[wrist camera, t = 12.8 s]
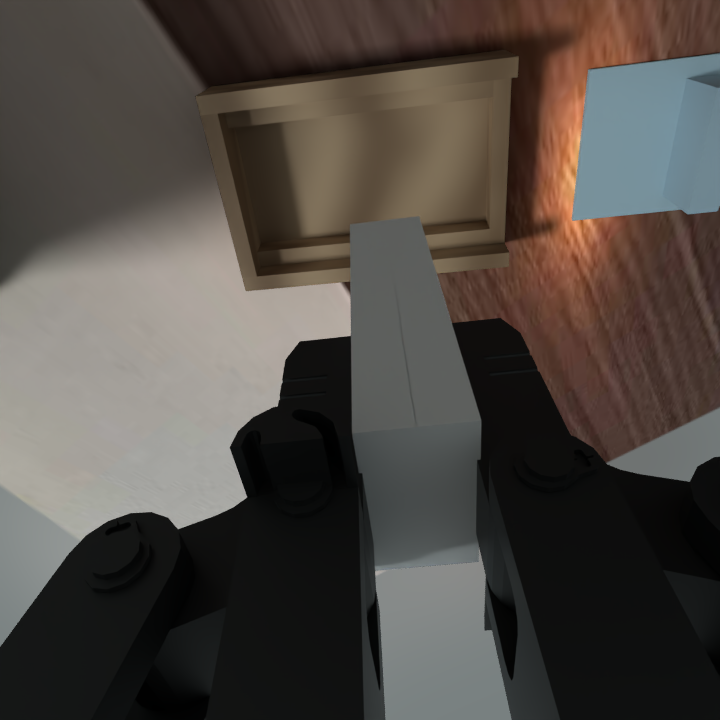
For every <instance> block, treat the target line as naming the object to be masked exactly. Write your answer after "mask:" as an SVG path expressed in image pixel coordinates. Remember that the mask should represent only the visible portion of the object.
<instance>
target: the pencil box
mask: <svg viewBox="0 0 720 720" xmlns="http://www.w3.org/2000/svg"><path fill="white" fill-rule="evenodd" d="M518 62H519V56H517V55H515V54H513V53H510V52H508V51H506V50H498V51H490V52H482V53H474V54H466V55H458V56H450V57H442V58H434V59H426V60H418V61H410V62H402V63H394V64H386V65H378V66H370V67H362V68H354V69H346V70H338V71H330V72H322V73H314V74H305V75H297V76H289V77H281V78H273V79H265V80H257V81H249V82H241V83H233V84H225V85H217V86H211V87H210V88H208V89H206V90H205V91H203V92H202V93H200V94H198V95H197V96H195V97H196V101H197V105H198V109H199V113H200V117H201V120H202V124H203V128H204V132H205V136H206V140H207V144H208V147H209V151H210V155H211V159H212V163H213V167H214V171H215V174H216V178H217V182H218V186H219V190H220V194H221V198H222V201H223V205H224V209H225V213H226V217H227V221H228V224H229V228H230V232H231V236H232V240H233V244H234V248H235V251H236V255H237V259H238V263H239V267H240V271H241V275H242V278H243V282H244V286H245V290H246V291H252V290H263V289H274V288H285V287H295V286H306V285H317V284H328V283H338V282H349V281H350V224H357V223H366V222H374V221H382V220H391V219H399V218H408V217H416V216H419V217H420V221H421V224H422V227H423V230H424V234H425V237H426V240H427V244H428V247H429V250H430V253H431V257H432V260H433V263H434V267H435V270H436V273H446V272H457V271H467V270H478V269H489V268H500V267H509V251H508V249H507V247H506V245H505V220H506V196H507V172H508V149H509V125H510V101H511V78H516V77H518Z"/></svg>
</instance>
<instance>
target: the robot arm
mask: <svg viewBox="0 0 720 720" xmlns="http://www.w3.org/2000/svg"><path fill="white" fill-rule="evenodd" d="M350 281H351V336H347V337H338V338H329V339H319V340H310V341H301V342H299V343H298V345H297V346H296V347H295V348H294V350H293V351H292V352H291V354H290V355H289V356H288V357H287V359H286V360H285V367H284V373H283V379H282V380H283V383H282V385H281V391H280V400H279V403H278V407H273V408H271V409H269V410H267V411H265V412H263V413H261V414H259V415H257V416H255V417H253V418H252V419H251V420H250V421H249V422H248V423H247V424H246V425H244V426H243V427H242V428H241V429H240V430H239V431H238V433H237V435H236V437H235V438H234V440H233V442H232V444H231V446H230V449H231V452H232V455H233V458H234V461H235V463H236V466H237V469H238V472H239V475H240V478H241V480H242V483H243V486H244V489H245V492H246V495H247V498H246V499H245V500H243V501H242V502H240V503H239V504H238V505H236V506H235V507H233V508H231V509H229V510H227V511H225V512H223V513H221V514H219V515H216V516H214V517H211V518H208V519H205V520H203V521H200V522H197V523H195V524H192V525H189V526H186V527H184V528H181V529H177V528H176V527H175V526H174V524H173V523H172V522H171V521H170V520H169V519H168V518H167V517H164V516H161V515H158V514H155V513H152V512H146V513H130V514H127V515H125V516H122V517H119V518H116V519H113V520H111V521H108V522H106V523H105V524H103V525H102V526H100V527H99V528H97V529H95V530H94V531H92V532H91V533H89V534H88V535H86V536H85V537H84V538H83V540H82V541H81V542H80V543H79V544H78V545H77V546H76V547H75V548H74V549H73V550H72V551H71V552H70V553H69V555H68V556H67V557H66V558H65V560H64V561H63V562H62V564H61V565H60V567H59V568H58V569H57V571H56V572H55V573H54V575H53V576H52V577H51V579H50V580H49V581H48V583H47V584H46V586H45V587H44V588H43V590H42V591H41V592H40V594H39V595H38V596H37V598H36V599H35V600H34V602H33V603H32V605H31V606H30V607H29V609H28V610H27V611H26V613H25V614H24V615H23V617H22V618H21V619H20V621H19V622H18V624H17V625H16V626H15V628H14V629H13V630H12V632H11V633H10V634H9V636H8V637H7V638H6V640H5V641H4V643H3V644H2V645H1V647H0V720H385V704H384V686H383V668H382V649H381V632H380V631H381V630H380V611H379V604H378V599H377V593H376V583H375V571H377V570H389V569H401V568H413V567H424V566H436V565H448V564H458V563H471V562H478V561H479V548H480V552H481V556H482V561H483V565H484V569H485V574H486V586H485V613H484V617H485V618H484V619H485V630H492V632H493V636H494V640H495V645H496V650H497V655H498V659H499V664H500V668H501V673H502V677H503V681H504V686H505V691H506V696H507V700H508V705H509V709H510V713H511V718H512V720H720V457H714V458H712V459H710V460H709V461H707V462H705V463H703V464H701V465H700V466H698V467H697V469H696V471H695V473H694V475H693V477H692V479H691V481H690V482H687V481H680V480H674V479H667V478H661V477H654V476H648V475H641V474H636V473H632V472H628V471H623V470H620V469H617V468H615V467H612V466H610V465H607V464H606V463H605V461H604V460H603V459H602V458H601V456H600V455H599V454H598V453H597V452H596V450H595V449H594V448H593V447H591V446H589V445H588V444H586V443H584V442H583V441H581V440H580V439H578V438H576V437H574V436H571V434H570V433H569V431H568V429H567V427H566V425H565V423H564V421H563V419H562V417H561V415H560V413H559V411H558V409H557V407H556V405H555V403H554V401H553V398H552V396H551V394H550V392H549V390H548V388H547V386H546V384H545V382H544V380H543V378H542V376H541V374H540V372H538V371H537V366H536V364H535V362H534V360H533V358H532V356H531V355H530V353H529V350H528V348H527V346H526V343H525V341H524V339H523V337H522V335H521V333H520V332H519V331H517V330H516V329H514V328H513V327H512V326H510V325H509V324H508V323H506V322H505V321H504V320H502V319H501V318H496V319H487V320H477V321H468V322H459V323H452V322H451V319H450V316H449V312H448V309H447V306H446V303H445V299H444V296H443V293H442V290H441V286H440V283H439V280H438V276H437V273H436V270H435V267H434V263H433V260H432V257H431V253H430V250H429V247H428V244H427V240H426V237H425V234H424V230H423V227H422V224H421V221H420V217H419V216H416V217H408V218H399V219H391V220H382V221H374V222H366V223H357V224H350Z"/></svg>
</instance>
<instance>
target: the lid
mask: <svg viewBox="0 0 720 720" xmlns="http://www.w3.org/2000/svg"><path fill="white" fill-rule="evenodd" d="M719 205H720V53H716V54H708V55H700V56H692V57H684V58H676V59H668V60H660V61H652V62H644V63H635V64H627V65H619V66H611V67H603V68H595V69H588V76H587V85H586V95H585V104H584V113H583V122H582V131H581V140H580V149H579V158H578V167H577V176H576V185H575V194H574V203H573V212H572V220H583V219H593V218H603V217H612V216H622V215H632V214H642V213H651V212H661V211H671V210H683V211H684V212H685V213H687V214H695V213H705V212H714V211H718V208H719Z"/></svg>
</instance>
